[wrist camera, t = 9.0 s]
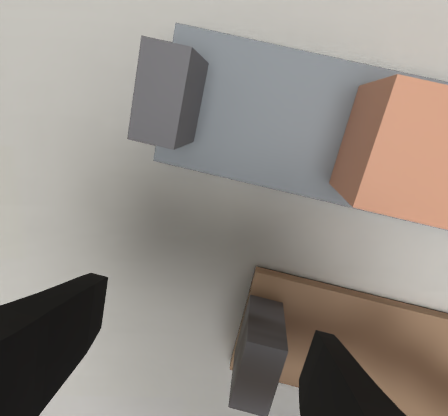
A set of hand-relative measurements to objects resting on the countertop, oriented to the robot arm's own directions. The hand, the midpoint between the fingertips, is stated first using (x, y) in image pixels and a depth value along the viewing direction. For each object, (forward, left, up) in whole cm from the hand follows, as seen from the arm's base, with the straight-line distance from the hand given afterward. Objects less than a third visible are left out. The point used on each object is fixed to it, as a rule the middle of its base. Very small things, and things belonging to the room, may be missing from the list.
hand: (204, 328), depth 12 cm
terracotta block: (+7, -7, -8) cm, 13 cm away
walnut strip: (-5, -10, -9) cm, 15 cm away
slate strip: (+7, -3, -9) cm, 12 cm away
